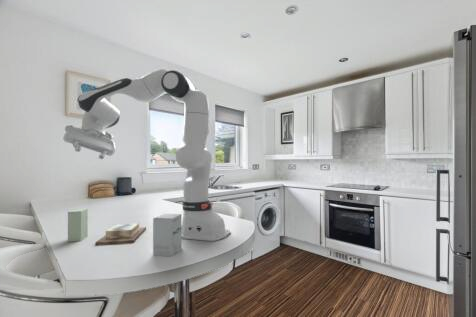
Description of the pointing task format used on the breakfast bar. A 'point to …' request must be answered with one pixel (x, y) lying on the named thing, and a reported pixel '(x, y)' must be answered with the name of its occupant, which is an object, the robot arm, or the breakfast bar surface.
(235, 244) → the breakfast bar surface
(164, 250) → the supplement box
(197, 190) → the robot arm
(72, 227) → the column block
